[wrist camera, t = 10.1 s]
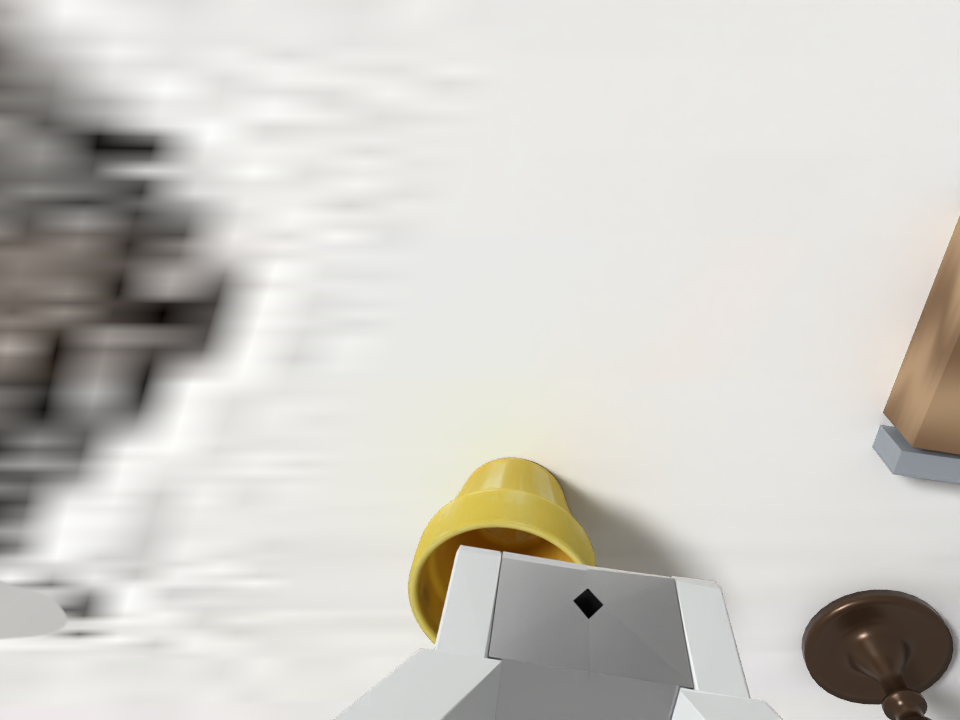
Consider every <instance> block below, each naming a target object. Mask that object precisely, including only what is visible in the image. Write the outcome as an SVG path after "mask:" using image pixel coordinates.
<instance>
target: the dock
mask: <svg viewBox="0 0 960 720" xmlns="http://www.w3.org/2000/svg"><path fill="white" fill-rule="evenodd" d="M873 448H874V450H875V451H876V452H877V454H878V455H879V456H880V458H881V459H882V460H883V462H884V463H885V464H886V466H887V467H888V468H889V470H890V471H891V472H892V474H895V475H902V476H909V477H915V478H922V479H929V480H936V481H943V482H950V483H957V484H960V454H953V453H947V452H941V451H935V450H928V449H922V448H916V447H912V446H911V445H910V444H909V443H908V441H907V440H906V439H905V438H904V437H903V435H902V434H901V433H900V432H899V431H898V430H897V428H896V427H890V426H883V425H881V426H880V429H879V431H878V434H877V437H876V439H875V442H874V445H873Z"/></svg>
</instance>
